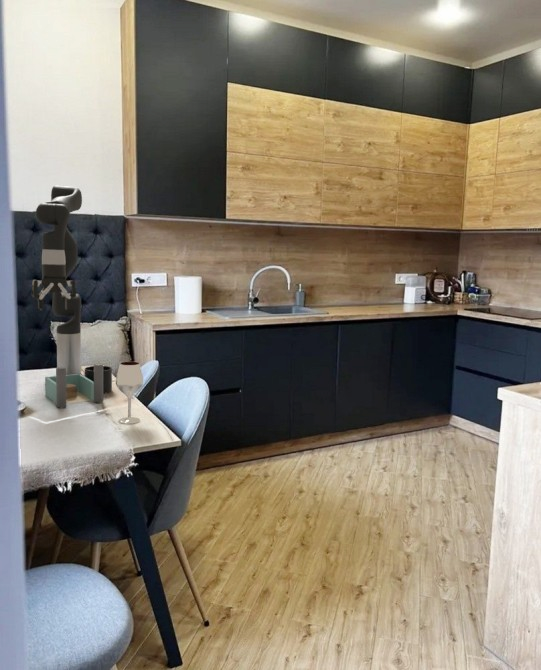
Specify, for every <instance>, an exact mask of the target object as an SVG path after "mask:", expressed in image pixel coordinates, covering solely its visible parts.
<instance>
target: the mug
mask: <svg viewBox="0 0 541 670" xmlns="http://www.w3.org/2000/svg"><path fill="white" fill-rule="evenodd" d="M112 371H113V368H112V367H111V366H108V365H107V366H106V365H103V395H105V394H109V393H112V391H113V390H112V388H113V385H112V384H113V372H112ZM84 377H86V378H88V379H90V380H91V381H93V383H94V365H93V366H87V367H84Z"/></svg>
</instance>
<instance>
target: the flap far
mask: <svg viewBox="0 0 541 670" xmlns="http://www.w3.org/2000/svg"><path fill="white" fill-rule="evenodd" d="M93 366H94V383H93V382H92V383H91V401H92V402H94V403H99V404H101V403H103V402H104V394H103V366H104V364H102V363H94V364H93ZM91 401H90V402H91Z"/></svg>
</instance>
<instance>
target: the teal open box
mask: <svg viewBox="0 0 541 670" xmlns="http://www.w3.org/2000/svg"><path fill="white" fill-rule="evenodd" d="M44 381H45V382H44V385H45V392H44V393H45V396H46V397H47V398H49V400H51V401H52V402H54V403H55V404H56V405H57V402H56V375H53V376H45V378H44ZM92 382H93V381H91V380H90V379H88V378H86V377H85V375H83V374H82V373H81V374H73V375H66V384H73V385H76V386H77V397H74V398H69V399H66V405H67V404H73V403H74V404H75V403H83V402H89V401H90V402H91V383H92Z"/></svg>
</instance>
